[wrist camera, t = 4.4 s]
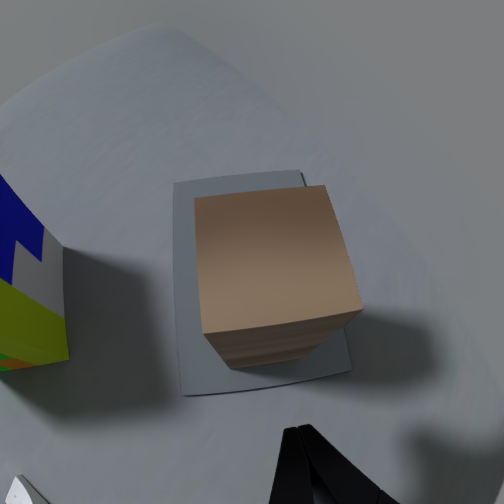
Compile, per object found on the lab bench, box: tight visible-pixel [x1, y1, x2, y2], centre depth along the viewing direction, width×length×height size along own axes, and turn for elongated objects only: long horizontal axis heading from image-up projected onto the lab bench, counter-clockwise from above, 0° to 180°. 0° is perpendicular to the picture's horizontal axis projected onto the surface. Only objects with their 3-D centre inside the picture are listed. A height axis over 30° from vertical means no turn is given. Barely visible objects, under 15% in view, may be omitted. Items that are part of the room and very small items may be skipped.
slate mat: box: [173, 170, 353, 396], centre depth 21 cm, size 17×11×1 cm, turn 8°
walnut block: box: [194, 185, 363, 369], centre depth 14 cm, size 4×4×11 cm
